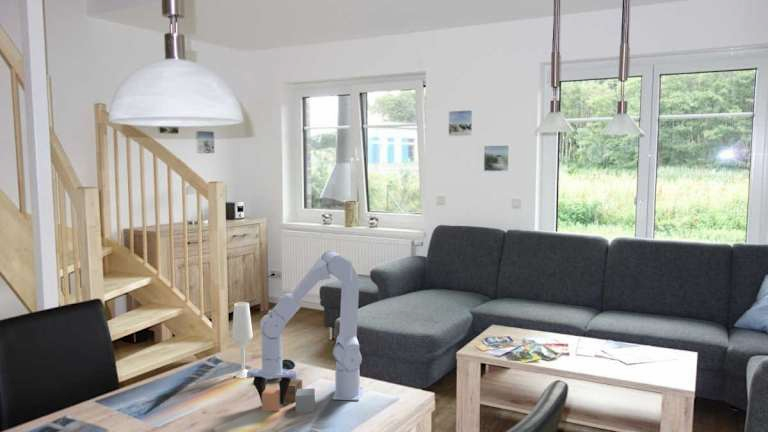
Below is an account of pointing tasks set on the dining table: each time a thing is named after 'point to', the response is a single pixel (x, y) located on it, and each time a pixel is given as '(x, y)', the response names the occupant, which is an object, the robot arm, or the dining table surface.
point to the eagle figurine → (286, 366)
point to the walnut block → (293, 390)
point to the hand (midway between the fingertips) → (273, 402)
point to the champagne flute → (242, 332)
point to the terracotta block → (271, 399)
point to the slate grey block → (305, 400)
